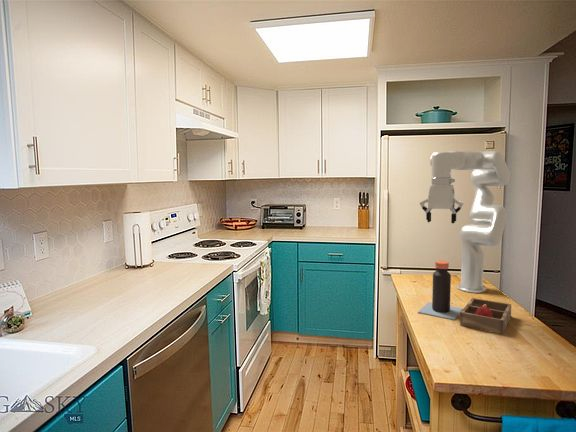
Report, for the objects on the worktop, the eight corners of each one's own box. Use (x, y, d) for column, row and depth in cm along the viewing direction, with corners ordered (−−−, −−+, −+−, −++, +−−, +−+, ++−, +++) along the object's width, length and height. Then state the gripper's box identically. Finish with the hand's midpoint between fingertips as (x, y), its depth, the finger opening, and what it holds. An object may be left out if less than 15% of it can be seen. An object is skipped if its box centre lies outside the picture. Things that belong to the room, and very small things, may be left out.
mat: (428, 303, 165) (428, 302, 165) (462, 309, 157) (463, 308, 157) (417, 312, 154) (418, 311, 154) (454, 320, 146) (454, 319, 146)
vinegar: (429, 307, 159) (430, 260, 157) (446, 307, 159) (447, 260, 157) (435, 313, 152) (436, 264, 150) (452, 312, 152) (453, 264, 150)
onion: (484, 329, 137) (485, 308, 136) (471, 323, 142) (472, 303, 141) (496, 326, 139) (496, 305, 138) (482, 321, 144) (483, 300, 144)
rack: (471, 309, 157) (472, 297, 156) (510, 316, 148) (511, 304, 148) (460, 325, 141) (460, 312, 140) (502, 334, 133) (503, 320, 132)
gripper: (465, 181, 156) (464, 222, 158) (422, 181, 166) (422, 220, 168) (461, 182, 150) (461, 224, 152) (417, 182, 160) (417, 222, 162)
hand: (441, 222), depth 160 cm, fingers open, 9 cm apart
